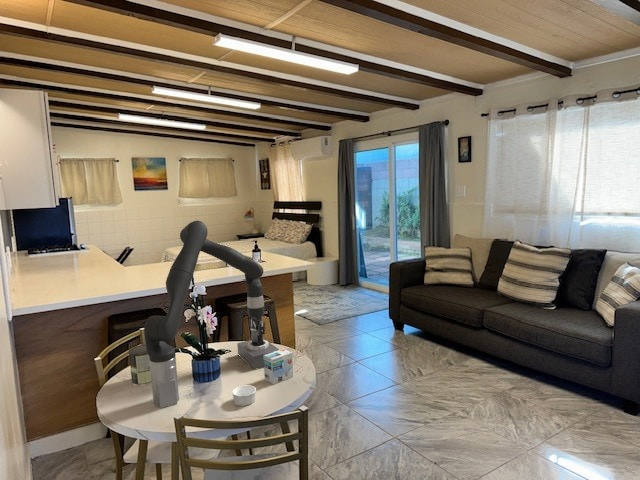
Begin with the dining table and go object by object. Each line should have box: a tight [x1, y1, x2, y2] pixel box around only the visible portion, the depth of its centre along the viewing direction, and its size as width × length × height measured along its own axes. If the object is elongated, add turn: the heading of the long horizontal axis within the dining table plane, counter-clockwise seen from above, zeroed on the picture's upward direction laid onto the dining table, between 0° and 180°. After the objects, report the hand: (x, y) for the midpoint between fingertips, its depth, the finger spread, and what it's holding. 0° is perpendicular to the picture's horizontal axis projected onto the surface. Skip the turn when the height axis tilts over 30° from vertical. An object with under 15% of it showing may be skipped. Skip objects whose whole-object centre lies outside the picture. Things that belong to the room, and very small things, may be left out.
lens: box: [250, 327, 265, 346], centre depth 200 cm, size 6×6×8 cm
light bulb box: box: [263, 348, 294, 385], centre depth 180 cm, size 11×7×11 cm, turn 131°
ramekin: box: [231, 384, 257, 407], centre depth 163 cm, size 9×9×4 cm
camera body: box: [236, 338, 280, 370], centre depth 202 cm, size 20×13×8 cm, turn 31°
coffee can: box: [128, 343, 152, 387], centre depth 182 cm, size 10×10×14 cm
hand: (257, 340), depth 201 cm, fingers open, 5 cm apart
